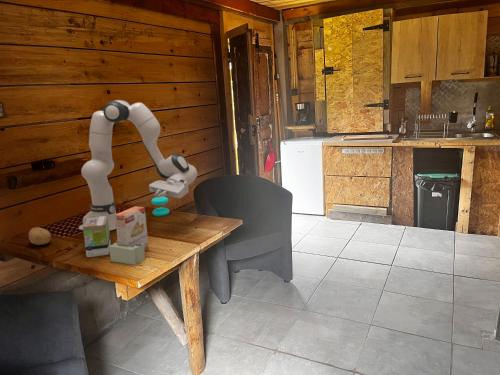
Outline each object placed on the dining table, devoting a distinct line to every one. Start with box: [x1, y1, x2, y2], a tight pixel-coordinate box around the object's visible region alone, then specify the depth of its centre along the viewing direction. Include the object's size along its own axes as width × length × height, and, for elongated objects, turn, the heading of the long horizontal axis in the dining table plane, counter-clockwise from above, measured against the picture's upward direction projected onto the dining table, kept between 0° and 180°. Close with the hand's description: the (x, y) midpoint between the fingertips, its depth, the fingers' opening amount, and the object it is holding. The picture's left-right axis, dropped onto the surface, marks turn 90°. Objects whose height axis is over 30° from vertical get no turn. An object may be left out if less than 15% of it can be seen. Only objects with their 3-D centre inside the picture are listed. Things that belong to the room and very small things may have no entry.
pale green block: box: [109, 239, 146, 266], centre depth 171 cm, size 13×7×8 cm, turn 67°
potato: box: [28, 227, 52, 246], centre depth 194 cm, size 10×14×8 cm
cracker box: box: [115, 205, 150, 252], centre depth 175 cm, size 14×6×21 cm, turn 158°
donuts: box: [151, 196, 170, 217], centre depth 236 cm, size 10×10×10 cm
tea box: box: [82, 216, 112, 258], centre depth 182 cm, size 15×10×15 cm, turn 17°
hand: (156, 196), depth 193 cm, fingers closed
